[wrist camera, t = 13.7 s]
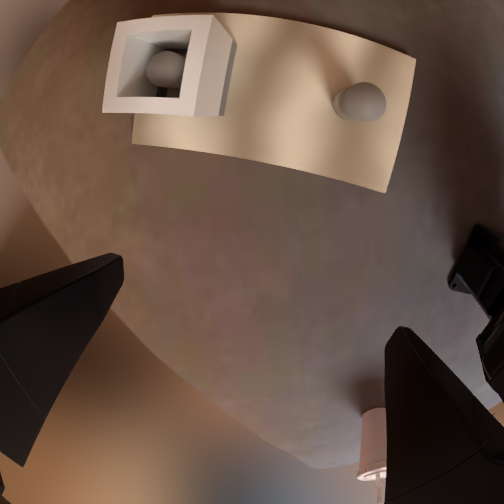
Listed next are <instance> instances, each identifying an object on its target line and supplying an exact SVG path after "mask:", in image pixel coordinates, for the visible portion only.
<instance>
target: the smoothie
mask: <svg viewBox="0 0 504 504" xmlns="http://www.w3.org/2000/svg"><path fill="white" fill-rule="evenodd" d="M386 460H387V437H386V409H385V408H374V409H371V410H369V411H367V412H365V413H364V414H363V415H362V434H361V452H360V466H359V470H358V471H357V479H359V480H364V481H366V480H376V488H377V504H379V503H382V497H381V482H380V479H381V478H385V477H386Z"/></svg>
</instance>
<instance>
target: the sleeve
mask: <svg viewBox="0 0 504 504" xmlns="http://www.w3.org/2000/svg"><path fill="white" fill-rule="evenodd" d="M236 49H237V44H236V42H235V41H234V40H233V39H232V37H231V36H230V35H229V34H228V32H227V31H226V30H225V29H224V27H223V26H222V25H221V24H220V23H219V21H218V20H217V19H216V18H215V17H214V15H177V16H162V17H152V18H143V19H135V20H129V21H122V22H117V26H116V30H115V35H114V39H113V44H112V49H111V54H110V59H109V65H108V71H107V77H106V84H105V92H104V100H103V109H102V113H148V114H166V115H180V116H191V117H200V116H224V113H225V108H226V102H227V96H228V90H229V85H230V80H231V74H232V69H233V64H234V59H235V54H236ZM163 51H172V52H174V53H187V56H186V61H185V67H184V72H183V78H182V84H181V90H180V96H179V98H166V94H167V88H166V87H159V86H155V85H153V84H152V83H151V82H150V81H149V80H148V78H147V75H146V69H147V65H148V63H149V61H150V60H151V59H152V57H154V56H155V55H156V54H158V53H160V52H163Z"/></svg>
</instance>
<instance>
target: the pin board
mask: <svg viewBox="0 0 504 504" xmlns="http://www.w3.org/2000/svg"><path fill="white" fill-rule="evenodd" d="M177 15H214V17H215V18H216V19H217V20H218V21H219V23H220V24H221V25H222V26H223V27H224V29H225V30H226V31H227V32H228V34H229V35H230V36H231V37H232V39H233V40H234V41H235V42H236V44H237V49H236V54H235V59H234V64H233V69H232V74H231V80H230V85H229V90H228V96H227V102H226V108H225V113H224V116H200V117H191V116H180V115H166V114H148V113H135V114H134V123H133V134H132V144H141V145H151V146H161V147H170V148H178V149H186V150H194V151H201V152H208V153H214V154H220V155H227V156H232V157H238V158H244V159H249V160H254V161H260V162H265V163H270V164H274V165H279V166H284V167H288V168H293V169H297V170H301V171H306V172H310V173H314V174H318V175H322V176H326V177H330V178H334V179H337V180H341V181H345V182H348V183H352V184H355V185H359V186H362V187H366V188H369V189H372V190H376V191H379V192H382V193H386V190H387V186H388V183H389V180H390V176H391V173H392V170H393V166H394V162H395V159H396V155H397V151H398V147H399V144H400V140H401V136H402V131H403V127H404V123H405V118H406V114H407V109H408V104H409V99H410V94H411V88H412V83H413V77H414V71H415V64H416V59H414V58H412V57H410V56H408V55H405V54H403V53H401V52H398V51H396V50H394V49H391V48H389V47H386V46H383V45H381V44H378V43H375V42H372V41H370V40H367V39H364V38H361V37H358V36H354V35H351V34H348V33H344V32H341V31H337V30H334V29H330V28H326V27H322V26H317V25H313V24H308V23H303V22H298V21H293V20H287V19H281V18H274V17H267V16H258V15H248V14H234V13H174V14H161V15H152V17H162V16H177ZM186 56H187V53H174V52H172V51H163V52H160V53H158V54H156V55H155V56H154V57H152V59H151V60H150V61H149V63H148V65H147V69H146V75H147V78H148V80H149V81H150V82H151V83H152V84H153V85H155V86H159V87H166V88H167V94H166V98H179V96H180V90H181V84H182V78H183V72H184V67H185V61H186Z"/></svg>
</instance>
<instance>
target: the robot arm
mask: <svg viewBox="0 0 504 504" xmlns="http://www.w3.org/2000/svg"><path fill="white" fill-rule="evenodd" d="M479 229H480V230H479ZM478 230H479V231H478ZM123 281H124V268H123V258H122V257H121V256H120V255H117V254H114V253H108V254H105V255H101V256H98V257H95V258H91V259H88V260H85V261H82V262H78V263H75V264H72V265H69V266H66V267H62V268H60V269H56V270H53V271H50V272H47V273H44V274H41V275H38V276H35V277H32V278H30V279H26V280H23V281H21V282H20V283H19V282H17V283H14V284H11V285H9V286H6V287H3V288H0V452H2V453H3V454H4V455H6V456H7V457H9V458H10V459H11V460H12V461H14V462H15V463H17V464H18V465H20V466H21V467H23V466H24V465H25V463H26V460H27V457H28V456H29V453H30V451H31V449H32V446H33V444H34V442H35V440H36V438H37V436H38V434H39V432H40V429H41V427H42V426H43V424H44V422H45V418H46V417H47V415H48V413H49V411H50V410H51V408H52V406H53V404H54V402H55V400H56V398H57V396H58V394H59V393H60V391H61V389H62V387H63V385H64V384H65V382H66V380H67V378H68V377H69V375H70V373H71V371H72V370H73V368H74V366H75V365H76V363H77V361H78V360H79V358H80V356H81V355H82V353H83V351H84V350H85V348H86V347H87V345H88V343H89V342H90V340H91V339H92V337H93V336H94V334H95V332H96V331H97V329H98V328H99V326H100V325H101V323H102V321H103V320H104V318H105V316H106V314H107V312H108V311H109V309H110V307H111V305H112V303H113V301H114V299H115V297H116V295H117V293H118V292H119V290H120V288H121V286H122V284H123ZM453 284H454V285H453ZM448 286H449V288H450V289H451V290H454V291H459V292H463V293H467V294H472V295H473V297H474V298H475V300H476V301H477V302H478V304H479V305H480V307H481V308H482V309H483V311H484V312H485V314H486V315H487V317H488V318H489V320H490V322H489V323H488V324H487V326H486V327H485V329H484V330H483V331H482V333H481V334H479V335H478V337H477V338H476V342H477V346H478V350H479V354H480V358H481V362H482V367H483V371H484V375H485V379H486V382H487V383H489V385H490V386H491V387H492V389H493V390H494V391H495V392H496V393H498V395H499V396H500V397H501V399H502V401H503V403H504V235H503V234H501V233H498V232H496V231H494V230H492V229H490V228H488V227H486V226H483V225H481V224H476V225H475V227H474V229H473V232H472V234H471V236H470V239H469V241H468V243H467V246H466V248H465V250H464V252H463V255H462V257H461V259H460V261H459V263H458V265H457V267H456V269H455V271H454V273H453V275H452V277H451V279H450V281H449V283H448ZM384 391H385V409H386V437H387V460H386V487H385V502H384V504H504V427H503V426H502V425H501V424H500V423H499V422H498V421H497V420H496V419H495V418H494V417H493V415H492V414H491V413H489V411H488V410H487V409H486V408H485V407H484V406H483V405H482V404H481V402H480V401H479V400H478V399H477V398H476V397H475V396H474V395H473V394H472V392H471V391H470V390H469V389H468V388H467V387H466V386H465V385H464V384H463V382H462V381H461V380H460V379H459V378H458V377H457V376H456V375H455V374H454V373H453V372H452V371H451V370H450V368H449V367H448V366H447V365H446V364H445V363H444V362H443V361H442V360H441V359H440V358H439V357H438V356H437V355H436V354H435V353H434V352H433V351H432V350H431V349H430V348H429V347H428V346H427V345H426V344H425V343H424V342H423V341H422V340H421V339H420V338H419V337H418V336H417V335H416V334H415V333H414V332H413V331H412V330H411V329H410V328H408V327H402V326H400V327H398V328H397V329H396V330H395V331H394V333H393V335H392V336H391V338H390V339H389V341H388V342H387V344H386V346H385V381H384ZM4 488H5V487H4V484H3V480H2V477H1V473H0V504H11V503H10V502H8V501H7V500H6V499H5V498H4V497H3V496H2V493H3V491H4Z"/></svg>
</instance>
